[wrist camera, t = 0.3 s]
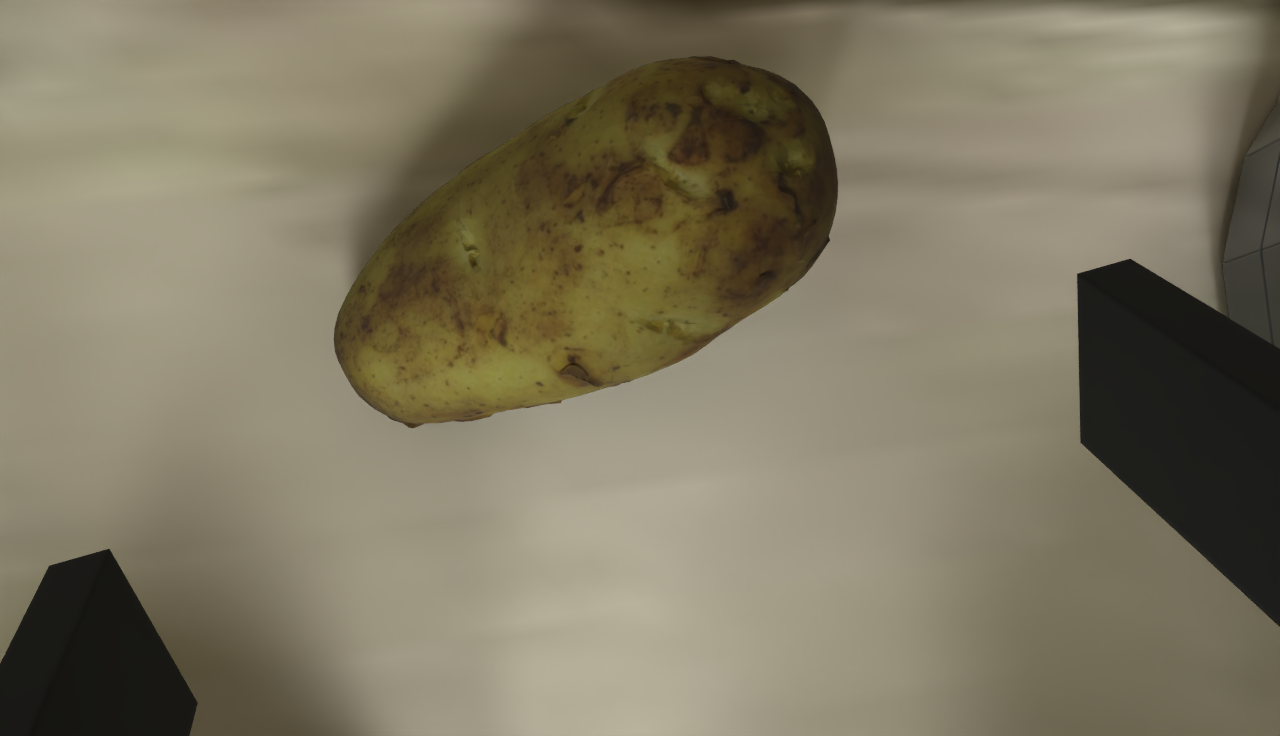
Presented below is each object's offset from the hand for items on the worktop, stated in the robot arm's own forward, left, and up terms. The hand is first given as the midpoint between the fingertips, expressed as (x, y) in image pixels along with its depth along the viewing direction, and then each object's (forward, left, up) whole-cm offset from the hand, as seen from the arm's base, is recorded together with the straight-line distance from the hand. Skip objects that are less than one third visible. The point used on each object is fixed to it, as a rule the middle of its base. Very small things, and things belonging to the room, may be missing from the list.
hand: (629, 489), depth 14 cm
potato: (+6, 0, -16) cm, 17 cm away
